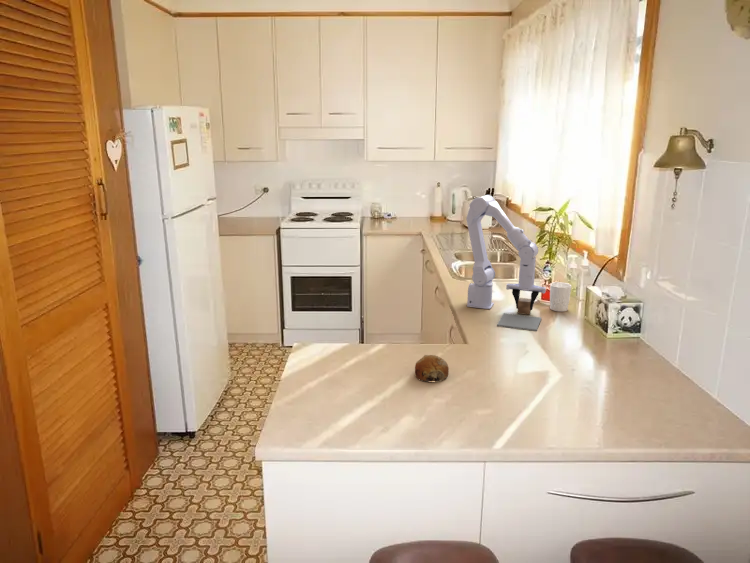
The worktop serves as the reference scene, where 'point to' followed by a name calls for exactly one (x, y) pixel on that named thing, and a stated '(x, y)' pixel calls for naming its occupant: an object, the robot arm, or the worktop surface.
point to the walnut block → (524, 306)
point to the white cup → (559, 296)
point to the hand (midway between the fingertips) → (524, 308)
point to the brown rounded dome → (431, 368)
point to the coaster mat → (519, 322)
